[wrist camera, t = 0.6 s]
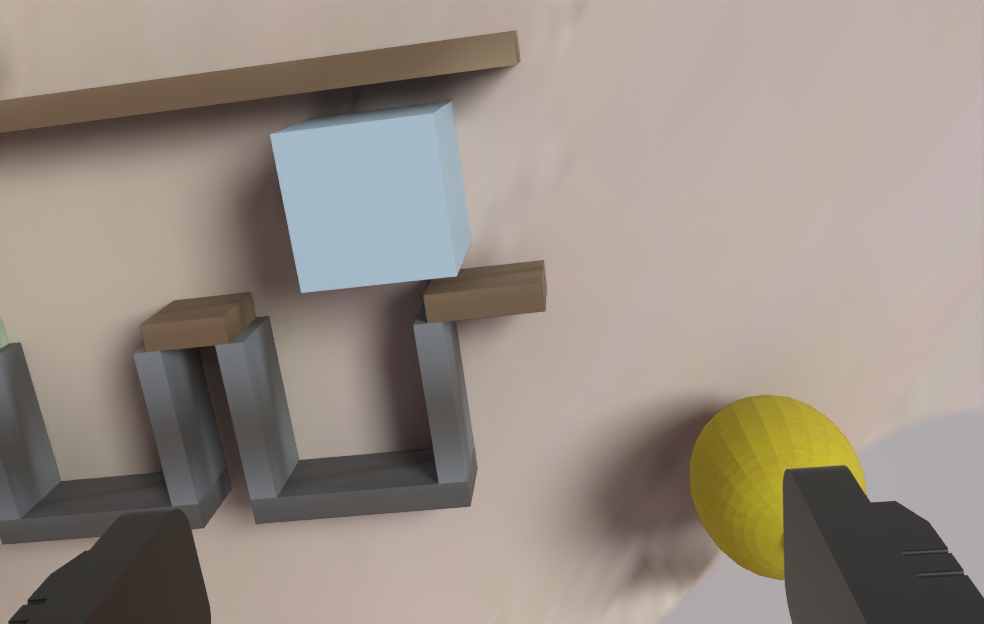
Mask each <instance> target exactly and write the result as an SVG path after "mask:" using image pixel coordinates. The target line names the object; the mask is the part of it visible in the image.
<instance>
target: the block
mask: <svg viewBox="0 0 984 624" xmlns="http://www.w3.org/2000/svg"><path fill="white" fill-rule="evenodd" d="M270 138H271V143H272V148H273V153H274V158H275V163H276V168H277V173H278V178H279V184H280V189H281V194H282V199H283V204H284V209H285V214H286V219H287V224H288V229H289V234H290V239H291V244H292V250H293V255H294V260H295V265H296V270H297V275H298V280H299V285H300V290H301V293H306V292H315V291H325V290H334V289H343V288H352V287H362V286H371V285H380V284H390V283H399V282H408V281H417V280H427V279H436V278H445V277H455V276H457V275H458V272H459V270H460V268H461V265H462V263H463V260H464V258H465V256H466V253H467V251H468V248H469V246H470V244H471V241H472V239H471V232H470V225H469V218H468V211H467V203H466V196H465V189H464V182H463V175H462V167H461V160H460V153H459V146H458V139H457V132H456V124H455V117H454V110H453V103H452V100H450V101H443V102H435V103H427V104H419V105H412V106H404V107H396V108H388V109H381V110H373V111H365V112H357V113H349V114H342V115H334V116H326V117H318V118H312V119H309V120H306V121H304V122H301V123H298V124H296V125H293V126H290V127H288V128H285V129H282V130H280V131H277V132H274V133H272V134H270Z"/></svg>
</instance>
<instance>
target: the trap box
mask: <svg viewBox="0 0 984 624" xmlns="http://www.w3.org/2000/svg"><path fill="white" fill-rule="evenodd" d="M519 62H520V54H519V45H518V37H517V31H510V32H502V33H495V34H488V35H480V36H473V37H466V38H458V39H451V40H443V41H436V42H429V43H421V44H414V45H407V46H399V47H392V48H385V49H377V50H370V51H363V52H355V53H348V54H341V55H333V56H326V57H318V58H311V59H304V60H296V61H289V62H282V63H274V64H267V65H260V66H252V67H245V68H238V69H230V70H223V71H215V72H208V73H201V74H193V75H186V76H179V77H171V78H164V79H157V80H149V81H142V82H135V83H127V84H120V85H112V86H105V87H98V88H90V89H83V90H76V91H68V92H61V93H54V94H46V95H39V96H32V97H24V98H17V99H10V100H2V101H0V133H3V132H11V131H19V130H26V129H34V128H41V127H49V126H56V125H64V124H72V123H79V122H87V121H94V120H102V119H110V118H117V117H125V116H132V115H140V114H147V113H155V112H163V111H170V110H178V109H185V108H193V107H200V106H208V105H216V104H223V103H231V102H238V101H246V100H253V99H261V98H269V97H276V96H284V95H291V94H299V93H307V92H314V91H322V90H329V89H337V88H344V87H352V86H360V85H367V84H375V83H382V82H390V81H397V80H405V79H413V78H420V77H428V76H435V75H443V74H450V73H458V72H466V71H473V70H481V69H488V68H496V67H504V66H511V65H517V64H518V63H519ZM546 292H547V284H546V276H545V267H544V260H542V261H533V262H524V263H515V264H506V265H497V266H487V267H478V268H469V269H460V270H459V272H458V275H457V276H455V277H445V278H436V279H431V281H430V283H429V285H428V287H427V289H426V290H425V292H424V294H423V298H424V304H423V306H422V308H421V310H420V312H419V314H418V316H417V318H416V320H415V322H414V324H413V328H414V334H415V340H416V346H417V352H418V359H419V365H420V371H421V377H422V383H423V389H424V395H425V402H426V408H427V414H428V420H429V426H430V432H431V439H432V445H433V449H422V450H411V451H399V452H388V453H377V454H365V455H354V456H343V457H331V458H320V459H309V460H299V458H298V453H297V448H296V443H295V438H294V434H293V429H292V424H291V419H290V415H289V410H288V405H287V400H286V395H285V391H284V386H283V381H282V376H281V372H280V367H279V362H278V357H277V352H276V348H275V343H274V338H273V333H272V329H271V324H270V319H269V316H267V317H257V318H256V315H255V310H254V305H253V301H252V296H251V292H249V293H239V294H230V295H221V296H212V297H203V298H194V299H184V300H175V301H173V302H172V303H170V304H169V305H167V306H166V307H165V308H163V309H162V310H160V311H159V312H158V313H156V314H155V315H153V316H152V317H151V318H149V319H148V320H146V321H145V322H144V323H142V324H141V325H140V329H141V333H142V337H143V341H144V346H142V347H141V348H140V349H138V350H137V351H136V352H135V353H133V356H134V360H135V364H136V368H137V372H138V376H139V380H140V384H141V387H142V391H143V395H144V399H145V403H146V407H147V411H148V415H149V419H150V422H151V426H152V430H153V434H154V438H155V442H156V446H157V450H158V454H159V457H160V461H161V465H162V469H163V472H161V473H150V474H139V475H127V476H116V477H105V478H93V479H82V480H71V481H61V479H60V476H59V472H58V469H57V466H56V462H55V459H54V455H53V452H52V449H51V445H50V442H49V438H48V435H47V431H46V428H45V425H44V421H43V418H42V414H41V411H40V408H39V404H38V401H37V397H36V394H35V391H34V387H33V384H32V380H31V377H30V374H29V370H28V367H27V363H26V360H25V357H24V353H23V350H22V346H21V343H12V344H8V341H7V338H6V334H5V331H4V327H3V324H2V321H1V320H0V538H1V541H2V544H15V543H27V542H39V541H52V540H64V539H76V538H89V537H101V536H102V535H103V534H104V533H105V532H106V531H107V530H108V528H109V527H110V526H111V525H112V524H113V523H114V521H115V520H116V519H117V518H118V517H119V516H120V515H121V514H123V513H126V512H138V511H153V510H168V509H180V510H181V511H183V512H184V513H185V515H186V516H187V518H188V521H189V523H190V527H191V529H200V528H204V527H205V526H206V525H207V523H208V522H209V520H210V519H211V517H212V516H213V515H214V513H215V512H216V510H217V509H218V508H219V506H220V505H221V503H222V502H223V501H224V499H225V498H226V496H227V495H228V494H229V492H230V491H231V485H230V481H229V476H228V472H227V468H226V464H225V459H224V455H223V451H222V447H221V442H220V438H219V434H218V430H217V425H216V421H215V417H214V412H213V408H212V404H211V400H210V395H209V391H208V387H207V383H206V378H205V374H204V370H203V366H202V361H201V357H200V353H199V349H198V347H204V346H214V345H215V348H216V352H217V357H218V361H219V365H220V370H221V374H222V378H223V383H224V387H225V391H226V396H227V400H228V404H229V409H230V413H231V418H232V422H233V426H234V431H235V435H236V439H237V444H238V448H239V452H240V457H241V461H242V466H243V470H244V474H245V479H246V483H247V487H248V492H249V496H250V500H251V505H252V509H253V514H254V518H255V522H256V524H261V523H274V522H286V521H298V520H311V519H323V518H335V517H348V516H360V515H372V514H385V513H397V512H409V511H422V510H434V509H446V508H459V507H470V506H471V500H472V495H473V490H474V484H475V479H476V474H477V461H476V454H475V448H474V441H473V434H472V427H471V421H470V414H469V407H468V400H467V394H466V387H465V380H464V373H463V367H462V360H461V353H460V347H459V340H458V333H457V326H456V320H466V319H476V318H486V317H495V316H505V315H515V314H524V313H534V312H544V311H546Z"/></svg>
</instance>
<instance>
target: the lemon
mask: <svg viewBox="0 0 984 624" xmlns="http://www.w3.org/2000/svg"><path fill="white" fill-rule="evenodd" d="M838 465H846V466H847V467H848V468H849V469H850V471H851V472H852V474H853V476H854V477H855V479H856V480H857V482H858V483H859V485H860V487H861V488H862V490H863V491H864V493H865V495H866V487H865V479H864V474H863V470H862V468H861V465H860V463H859V460H858V458H857V456H856V454H855V452H854V449H853V447H852V445H851V444H850V442H849V441H848V439H847V438H846V437H845V436H844V434H843V433H842V432H841V431H840V430H839V428H838V427H837V426H836V425H835V424H834V423H833V422H832V421H831V420H830V419H829V418H828V417H826V416H825V415H823V414H822V413H820V412H819V411H817V410H816V409H814V408H813V407H812V406H810V405H808V404H806V403H803V402H800V401H797V400H795V399H792V398H789V397H783V396H773V395H761V396H753V397H747V398H744V399H742V400H739V401H736V402H733V403H731V404H730V405H728V406H727V407H725V408H724V409H722V410H720V411H719V412H717V413H716V414H715V415H714V417H713V418H712V419H711V420H710V421H709V422H708V423H707V424H706V425H705V426H704V427H703V429H702V431H701V433H700V435H699V437H698V438H697V440H696V442H695V445H694V448H693V452H692V457H691V461H690V467H689V472H690V492H691V496H692V499H693V502H694V505H695V508H696V511H697V514H698V517H699V519H700V521H701V523H702V525H703V526H704V528H705V529H706V531H707V532H708V533H709V535H710V536H711V538H712V539H713V541H714V542H715V543H716V545H717V546H718V547H719V548H720V549H721V550H722V551H723V552H724V553H725V554H726V555H728V556H729V557H730V558H731V559H732V560H733V561H735V562H736V563H737V564H738V565H740V566H741V567H743V568H745V569H747V570H750V571H751V572H753V573H755V574H757V575H760V576H764V577H769V578H773V579H778V580H785V577H784V531H783V476H784V472H785V470H786V469H794V468H809V467H823V466H838ZM866 496H867V495H866Z"/></svg>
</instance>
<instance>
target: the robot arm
mask: <svg viewBox="0 0 984 624" xmlns="http://www.w3.org/2000/svg"><path fill="white" fill-rule="evenodd" d="M783 531H784V577H785V588H786V595H787V602H788V607H789V612H790V616H791V620H792V624H984V598H983V596H982V595H981V594H980V592H979V591H978V589H977V588H976V587H975V585H974V584H973V582H972V581H971V580H970V578H969V577H968V576H967V575H964V572H963V569H962V567H961V566H960V564H959V563H958V562H957V560H956V559H955V558H954V556H953V555H952V553H948V548H947V546H946V545H945V544H944V542H943V541H942V539H941V538H940V537H939V535H938V534H937V533H936V531H935V530H934V528H933V527H932V526H931V524H930V523H929V522H928V521H926V520H925V519H923V518H921V517H920V516H918V515H917V514H915V513H914V512H912V511H911V510H909V509H907V508H906V507H904V506H902V505H901V504H899V503H898V502H896V501H888V502H874V503H873V502H872V503H871V502H870V501H869V499H868V498H867V496H866V495H865V493H864V491H863V490H862V488H861V487H860V485H859V483H858V482H857V480H856V479H855V477H854V476H853V474H852V472H851V471H850V469H849V468H848V467H847V466H846V465H838V466H823V467H809V468H794V469H786V470H785V472H784V476H783ZM8 622H9V624H211V612H210V605H209V601H208V597H207V592H206V588H205V584H204V580H203V576H202V572H201V568H200V564H199V559H198V555H197V551H196V547H195V543H194V539H193V535H192V530H191V527H190V523H189V521H188V518H187V516H186V515H185V513H184V512H183V511H181V510H180V509H168V510H153V511H138V512H126V513H123V514H121V515H120V516H119V517H118V518H117V519H116V520H115V521H114V523H113V524H112V525H111V526H110V527H109V528H108V530H107V531H106V532H105V533H104V534H103V535H102V536H101V538H100V539H99V540H98V541H97V542H96V543H95V545H94V546H93V547H92V548H91V549H90V550H89V551H84V552H83V553H81V554H80V555H78V556H77V557H76V558H74V559H73V560H71V561H70V562H68V563H67V564H65V565H64V566H62V567H61V568H59V569H58V570H56V571H55V572H53V573H52V574H50V575H49V577H48V578H47V579H46V580H45V581H44V582H43V583H42V584H41V586H40V587H39V588H38V589H37V590H36V591H35V592H34V593H33V594H32V596H31V597H30V598H29V599H28V604H27V605H23V606H22V607H21V608H20V609H19V610H18V611H17V612H16V613H15V614H14V616H13V617H12V618H11V619H10V620H9V621H8Z"/></svg>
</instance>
